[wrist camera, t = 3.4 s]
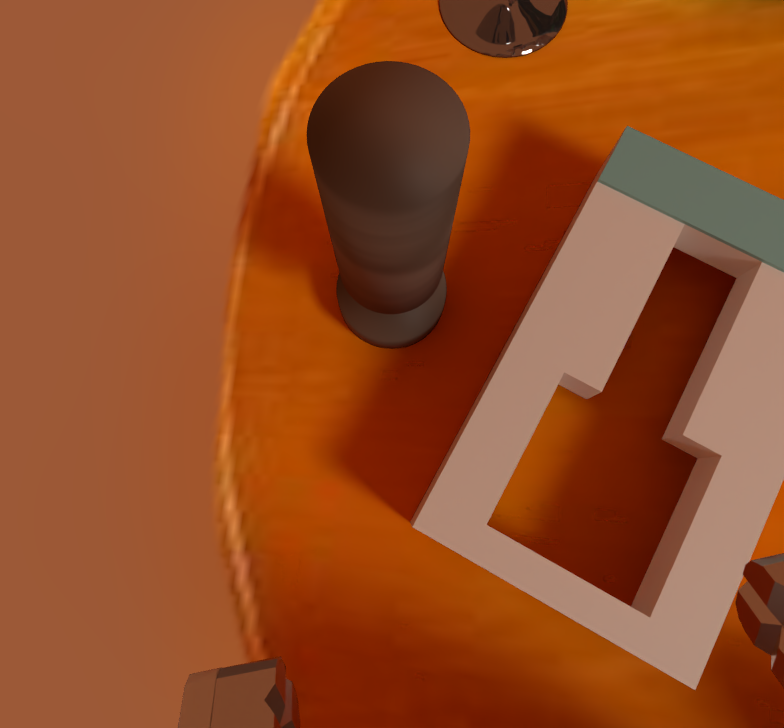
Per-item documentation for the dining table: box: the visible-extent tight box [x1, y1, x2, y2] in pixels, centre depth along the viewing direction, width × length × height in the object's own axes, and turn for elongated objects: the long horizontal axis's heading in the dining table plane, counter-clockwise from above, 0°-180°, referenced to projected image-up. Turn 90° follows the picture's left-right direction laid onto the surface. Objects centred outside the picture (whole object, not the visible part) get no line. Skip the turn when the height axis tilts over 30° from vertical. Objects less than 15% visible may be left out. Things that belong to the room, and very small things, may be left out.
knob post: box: [307, 61, 470, 349], centre depth 23 cm, size 5×5×14 cm
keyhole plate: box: [410, 126, 784, 690], centre depth 27 cm, size 20×12×4 cm, turn 151°
